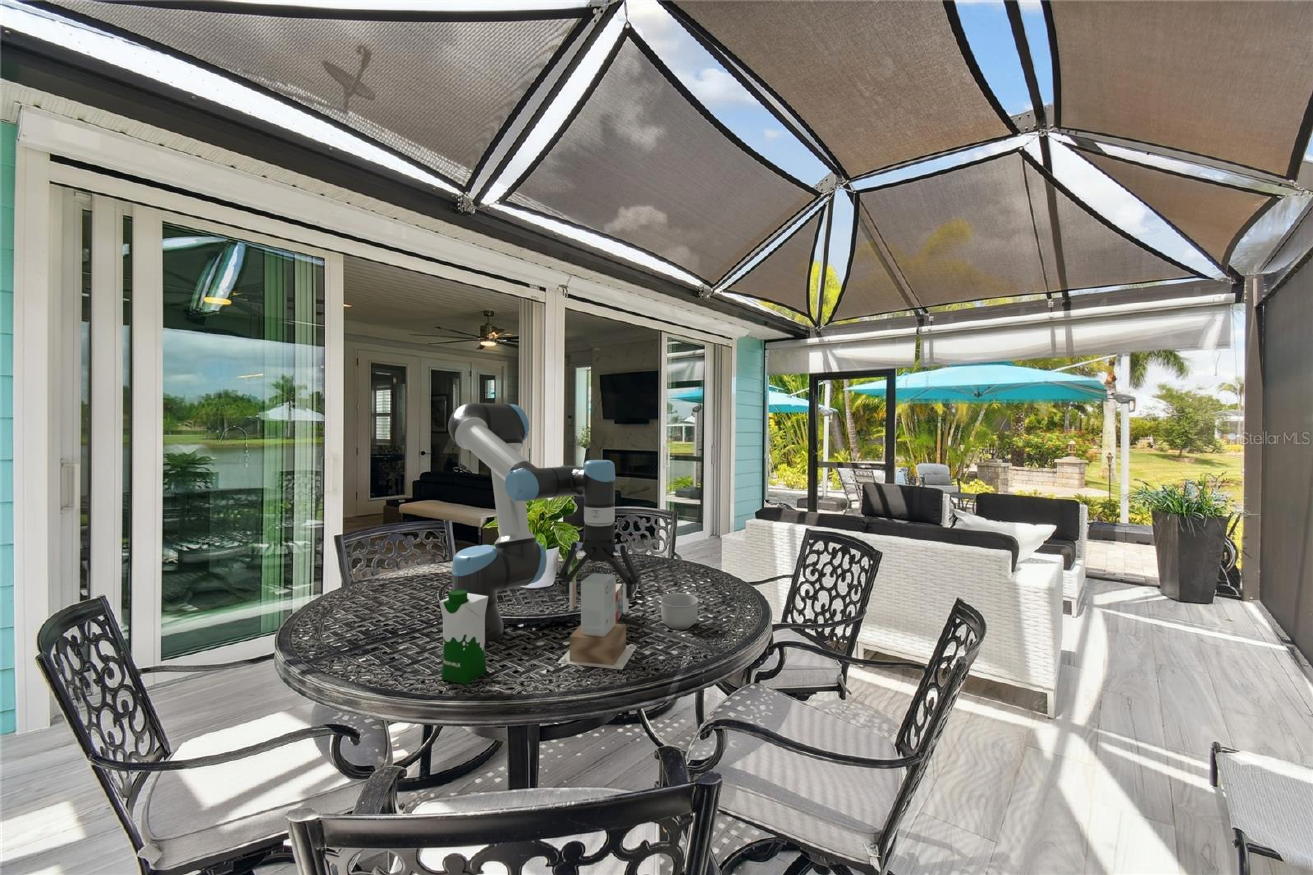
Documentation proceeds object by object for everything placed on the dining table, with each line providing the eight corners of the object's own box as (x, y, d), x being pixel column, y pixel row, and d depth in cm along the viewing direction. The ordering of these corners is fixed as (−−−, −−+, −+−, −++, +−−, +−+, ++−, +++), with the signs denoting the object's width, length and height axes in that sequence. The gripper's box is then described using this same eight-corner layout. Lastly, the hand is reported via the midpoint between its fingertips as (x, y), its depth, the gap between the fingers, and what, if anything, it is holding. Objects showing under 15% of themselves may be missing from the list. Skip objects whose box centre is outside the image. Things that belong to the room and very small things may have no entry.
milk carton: (435, 680, 132) (435, 592, 131) (463, 664, 140) (463, 582, 139) (466, 687, 128) (465, 597, 128) (493, 671, 137) (493, 586, 136)
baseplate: (557, 667, 139) (557, 660, 139) (577, 645, 153) (577, 638, 153) (622, 674, 136) (622, 666, 136) (636, 651, 149) (636, 644, 149)
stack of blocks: (602, 612, 179) (603, 572, 179) (622, 614, 178) (623, 573, 178) (583, 638, 158) (583, 593, 157) (605, 640, 157) (606, 594, 156)
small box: (592, 623, 149) (592, 572, 148) (616, 625, 147) (616, 574, 147) (579, 634, 141) (580, 581, 140) (604, 637, 139) (605, 583, 139)
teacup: (705, 626, 168) (705, 598, 168) (681, 636, 160) (681, 607, 160) (668, 614, 177) (669, 588, 177) (644, 623, 169) (644, 596, 169)
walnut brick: (569, 661, 140) (569, 636, 140) (584, 643, 151) (584, 620, 150) (613, 665, 138) (613, 640, 137) (625, 647, 148) (626, 624, 148)
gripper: (545, 523, 142) (545, 609, 143) (645, 528, 137) (644, 618, 137) (557, 518, 149) (556, 600, 150) (652, 523, 144) (651, 608, 145)
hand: (598, 609), depth 144 cm, fingers open, 13 cm apart
